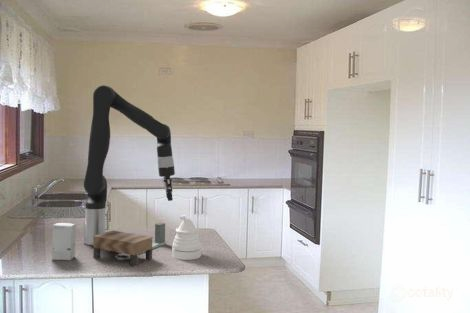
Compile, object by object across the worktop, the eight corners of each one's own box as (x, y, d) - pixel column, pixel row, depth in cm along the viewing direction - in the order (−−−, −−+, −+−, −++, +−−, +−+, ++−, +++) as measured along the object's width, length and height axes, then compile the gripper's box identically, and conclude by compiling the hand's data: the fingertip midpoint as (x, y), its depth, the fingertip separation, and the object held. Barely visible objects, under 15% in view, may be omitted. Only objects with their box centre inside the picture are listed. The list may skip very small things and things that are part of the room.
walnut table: (93, 257, 200) (93, 236, 199) (112, 251, 211) (112, 230, 210) (134, 266, 190) (134, 243, 190) (152, 258, 201) (152, 237, 200)
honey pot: (174, 260, 199) (175, 219, 198) (170, 252, 212) (170, 213, 210) (203, 258, 203) (204, 218, 202) (197, 250, 215) (198, 212, 214)
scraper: (159, 242, 227) (159, 222, 227) (165, 244, 226) (166, 223, 225) (131, 253, 209) (132, 230, 208) (138, 254, 207) (139, 232, 206)
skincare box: (51, 260, 195) (51, 225, 194) (57, 255, 202) (56, 222, 200) (71, 260, 195) (71, 225, 194) (76, 256, 201) (76, 222, 200)
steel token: (112, 259, 199) (112, 255, 199) (122, 256, 205) (122, 252, 205) (123, 261, 197) (123, 258, 197) (132, 258, 202) (132, 254, 202)
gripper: (157, 165, 228) (161, 198, 229) (158, 168, 214) (162, 202, 215) (172, 163, 230) (176, 196, 231) (175, 166, 216) (178, 200, 217)
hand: (169, 199), depth 223 cm, fingers open, 8 cm apart
